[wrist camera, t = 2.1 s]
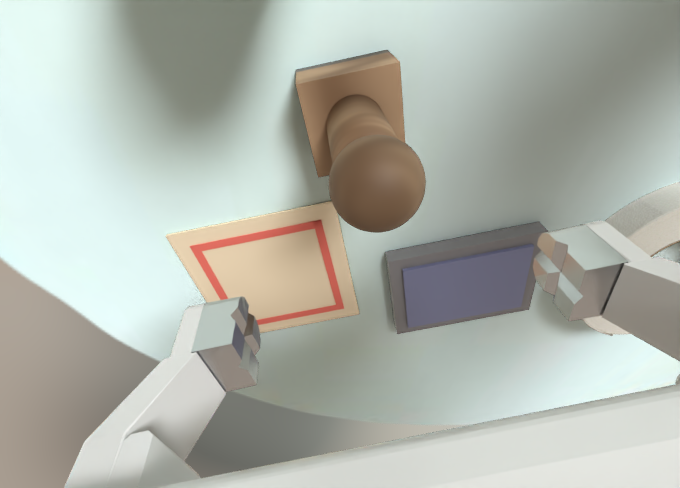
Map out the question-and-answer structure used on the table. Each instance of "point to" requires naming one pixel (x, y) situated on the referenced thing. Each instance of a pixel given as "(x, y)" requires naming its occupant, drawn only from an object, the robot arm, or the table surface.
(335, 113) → the walnut stamp
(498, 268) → the ink pad
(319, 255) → the tan card
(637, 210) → the roll of tape
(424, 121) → the table surface
